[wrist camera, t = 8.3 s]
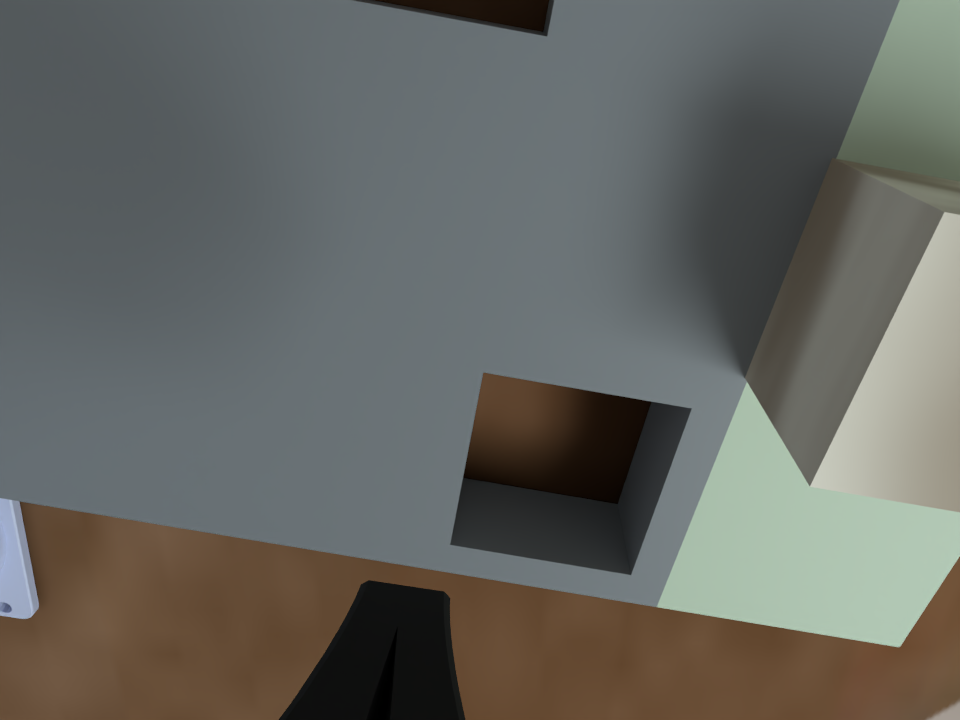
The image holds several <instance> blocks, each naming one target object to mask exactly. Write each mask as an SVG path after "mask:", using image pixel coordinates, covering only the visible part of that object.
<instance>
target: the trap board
mask: <svg viewBox="0 0 960 720" xmlns="http://www.w3.org/2000/svg"><path fill="white" fill-rule="evenodd" d="M832 158H835V159H840V160H845V161H851V162H856V163H862V164H867V165H873V166H878V167H884V168H889V169H895V170H900V171H905V172H911V173H916V174H922V175H927V176H933V177H938V178H944V179H949V180H955V181H960V0H549V4H548V9H547V15H546V20H545V25H544V31H543V32H541V31H536V30H530V29H525V28H520V27H514V26H509V25H503V24H498V23H493V22H487V21H482V20H477V19H471V18H466V17H461V16H455V15H450V14H444V13H439V12H434V11H428V10H423V9H418V8H412V7H407V6H401V5H396V4H391V3H385V2H380V1H375V0H0V498H2V499H8V500H14V501H20V502H27V503H33V504H39V505H45V506H51V507H57V508H63V509H69V510H75V511H81V512H87V513H93V514H99V515H105V516H111V517H117V518H123V519H129V520H135V521H141V522H147V523H153V524H159V525H165V526H171V527H177V528H183V529H189V530H195V531H201V532H207V533H213V534H219V535H226V536H232V537H238V538H244V539H250V540H256V541H262V542H268V543H274V544H280V545H286V546H292V547H298V548H304V549H310V550H316V551H322V552H328V553H334V554H340V555H346V556H352V557H358V558H364V559H370V560H376V561H382V562H388V563H394V564H400V565H406V566H412V567H418V568H424V569H431V570H437V571H443V572H449V573H455V574H461V575H467V576H473V577H479V578H485V579H491V580H497V581H503V582H509V583H515V584H521V585H527V586H533V587H539V588H545V589H551V590H557V591H563V592H569V593H575V594H581V595H587V596H593V597H599V598H605V599H611V600H617V601H623V602H630V603H636V604H642V605H648V606H654V607H660V608H666V609H672V610H678V611H684V612H690V613H696V614H702V615H708V616H714V617H720V618H726V619H732V620H738V621H744V622H750V623H756V624H762V625H768V626H774V627H780V628H786V629H792V630H798V631H804V632H810V633H816V634H822V635H829V636H835V637H841V638H847V639H853V640H859V641H865V642H871V643H877V644H883V645H889V646H895V647H900V646H901V644H902V643H903V641H904V640H905V638H906V637H907V635H908V634H909V632H910V631H911V629H912V628H913V626H914V625H915V623H916V622H917V620H918V619H919V617H920V616H921V614H922V613H923V611H924V610H925V608H926V606H927V605H928V603H929V602H930V600H931V599H932V597H933V596H934V594H935V593H936V591H937V590H938V588H939V587H940V585H941V584H942V582H943V581H944V579H945V578H946V576H947V575H948V573H949V572H950V570H951V569H952V567H953V565H954V564H955V562H956V561H957V559H958V558H959V556H960V512H955V511H949V510H943V509H937V508H931V507H925V506H920V505H914V504H908V503H902V502H896V501H890V500H884V499H879V498H873V497H867V496H861V495H855V494H849V493H844V492H838V491H832V490H826V489H820V488H814V487H810V486H809V485H808V483H807V481H806V480H805V478H804V476H803V475H802V473H801V471H800V470H799V468H798V466H797V464H796V463H795V461H794V459H793V458H792V456H791V454H790V453H789V451H788V449H787V448H786V446H785V444H784V443H783V441H782V439H781V438H780V436H779V434H778V433H777V431H776V429H775V428H774V426H773V424H772V423H771V421H770V419H769V418H768V416H767V414H766V413H765V411H764V409H763V408H762V406H761V404H760V403H759V401H758V399H757V398H756V396H755V394H754V393H753V391H752V389H751V388H750V386H749V384H748V383H747V381H746V379H745V376H746V374H747V371H748V369H749V366H750V364H751V361H752V359H753V356H754V354H755V351H756V349H757V346H758V344H759V341H760V339H761V336H762V334H763V331H764V328H765V326H766V323H767V321H768V318H769V316H770V313H771V311H772V308H773V306H774V303H775V301H776V298H777V296H778V293H779V291H780V288H781V286H782V283H783V281H784V278H785V276H786V273H787V271H788V268H789V266H790V263H791V261H792V258H793V255H794V253H795V250H796V248H797V245H798V243H799V240H800V238H801V235H802V233H803V230H804V228H805V225H806V223H807V220H808V218H809V215H810V213H811V210H812V208H813V205H814V203H815V200H816V198H817V195H818V193H819V190H820V188H821V185H822V183H823V180H824V177H825V175H826V172H827V170H828V167H829V165H830V162H831V160H832ZM483 372H484V373H490V374H495V375H501V376H507V377H513V378H518V379H524V380H530V381H536V382H542V383H547V384H553V385H559V386H565V387H570V388H576V389H582V390H588V391H593V392H599V393H605V394H611V395H617V396H622V397H628V398H634V399H640V400H645V401H651V405H650V408H649V411H648V414H647V417H646V420H645V423H644V426H643V429H642V432H641V435H640V438H639V441H638V444H637V447H636V450H635V453H634V456H633V459H632V462H631V465H630V468H629V471H628V474H627V477H626V480H625V483H624V486H623V490H622V493H621V496H620V499H619V502H618V504H614V503H608V502H602V501H597V500H591V499H585V498H579V497H573V496H567V495H561V494H555V493H549V492H543V491H537V490H532V489H526V488H520V487H514V486H508V485H502V484H496V483H490V482H484V481H478V480H473V479H467V478H463V475H464V470H465V465H466V459H467V454H468V449H469V444H470V438H471V433H472V428H473V423H474V418H475V412H476V407H477V402H478V397H479V391H480V386H481V381H482V376H483Z"/></svg>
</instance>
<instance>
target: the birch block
mask: <svg viewBox="0 0 960 720" xmlns="http://www.w3.org/2000/svg"><path fill="white" fill-rule="evenodd" d="M745 379H746V381H747V383H748V384H749V386H750V388H751V389H752V391H753V393H754V394H755V396H756V398H757V399H758V401H759V403H760V404H761V406H762V408H763V409H764V411H765V413H766V414H767V416H768V418H769V419H770V421H771V423H772V424H773V426H774V428H775V429H776V431H777V433H778V434H779V436H780V438H781V439H782V441H783V443H784V444H785V446H786V448H787V449H788V451H789V453H790V454H791V456H792V458H793V459H794V461H795V463H796V464H797V466H798V468H799V470H800V471H801V473H802V475H803V476H804V478H805V480H806V481H807V483H808V485H809V486H810V487H814V488H820V489H826V490H832V491H838V492H844V493H849V494H855V495H861V496H867V497H873V498H879V499H884V500H890V501H896V502H902V503H908V504H914V505H920V506H925V507H931V508H937V509H943V510H949V511H955V512H960V181H955V180H949V179H944V178H938V177H933V176H927V175H922V174H916V173H911V172H905V171H900V170H895V169H889V168H884V167H878V166H873V165H867V164H862V163H856V162H851V161H845V160H840V159H835V158H832V160H831V162H830V165H829V167H828V170H827V172H826V175H825V177H824V180H823V183H822V185H821V188H820V190H819V193H818V195H817V198H816V200H815V203H814V205H813V208H812V210H811V213H810V215H809V218H808V220H807V223H806V225H805V228H804V230H803V233H802V235H801V238H800V240H799V243H798V245H797V248H796V250H795V253H794V255H793V258H792V261H791V263H790V266H789V268H788V271H787V273H786V276H785V278H784V281H783V283H782V286H781V288H780V291H779V293H778V296H777V298H776V301H775V303H774V306H773V308H772V311H771V313H770V316H769V318H768V321H767V323H766V326H765V328H764V331H763V334H762V336H761V339H760V341H759V344H758V346H757V349H756V351H755V354H754V356H753V359H752V361H751V364H750V366H749V369H748V371H747V374H746V376H745Z"/></svg>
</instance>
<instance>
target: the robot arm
mask: <svg viewBox="0 0 960 720" xmlns="http://www.w3.org/2000/svg"><path fill="white" fill-rule="evenodd" d="M38 608H39V602H38V597H37V592H36V586H35V581H34V576H33V571H32V565H31V560H30V555H29V550H28V544H27V539H26V534H25V529H24V523H23V518H22V513H21V508H20V502H19V501H14V500H8V499H2V498H0V615H1V616H7V617H13V618H20V619H27V618H30V617H32V615H33V614H34V613H35V612H36V611H37V609H38ZM279 720H465V716H464V711H463V707H462V702H461V697H460V693H459V687H458V682H457V676H456V670H455V663H454V656H453V649H452V640H451V629H450V598H449V596H448V595H447V594H446V593H445V592H443V591H436V590H430V589H423V588H416V587H410V586H403V585H396V584H390V583H383V582H376V581H370V580H369V581H367V582H365V583H363V584H361V586H360V588H359V591H358V593H357V596H356V598H355V600H354V602H353V604H352V606H351V608H350V610H349V612H348V614H347V616H346V617H345V619H344V621H343V623H342V625H341V626H340V628H339V630H338V632H337V633H336V635H335V637H334V638H333V640H332V642H331V643H330V645H329V647H328V648H327V650H326V652H325V653H324V655H323V656H322V658H321V659H320V661H319V662H318V664H317V665H316V667H315V668H314V670H313V671H312V673H311V674H310V676H309V677H308V679H307V680H306V682H305V684H304V685H303V687H302V688H301V690H300V691H299V693H298V694H297V695H296V697H295V698H294V700H293V701H292V703H291V704H290V705H289V707H288V708H287V709H286V711H285V712H284V713H283V715H282V716H281V717H280V719H279Z"/></svg>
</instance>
